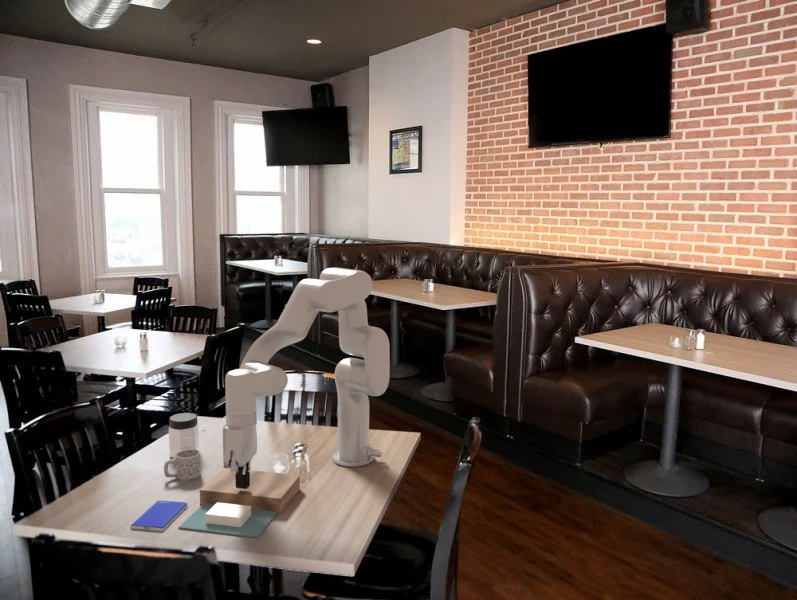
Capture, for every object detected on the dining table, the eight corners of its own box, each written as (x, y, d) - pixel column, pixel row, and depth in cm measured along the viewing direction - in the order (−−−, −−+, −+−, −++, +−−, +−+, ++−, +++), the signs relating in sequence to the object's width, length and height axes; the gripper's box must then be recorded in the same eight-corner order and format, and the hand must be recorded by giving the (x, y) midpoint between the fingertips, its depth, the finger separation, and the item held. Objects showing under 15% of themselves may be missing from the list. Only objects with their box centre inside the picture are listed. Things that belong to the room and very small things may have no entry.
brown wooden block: (299, 489, 165) (299, 475, 165) (280, 513, 152) (280, 498, 151) (225, 481, 169) (224, 467, 169) (200, 504, 156) (199, 489, 155)
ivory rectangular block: (240, 517, 144) (240, 527, 144) (251, 506, 149) (251, 515, 150) (205, 513, 145) (205, 523, 146) (217, 502, 151) (217, 511, 151)
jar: (173, 461, 182) (172, 423, 180) (166, 452, 188) (164, 415, 187) (203, 455, 187) (202, 418, 185) (195, 446, 194) (193, 410, 192)
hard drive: (157, 500, 156) (130, 524, 144) (187, 502, 155) (162, 527, 143) (157, 505, 156) (130, 530, 144) (187, 508, 155) (163, 533, 143)
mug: (196, 468, 177) (195, 447, 176) (204, 477, 172) (203, 454, 171) (161, 477, 171) (160, 454, 171) (167, 485, 166) (166, 462, 165)
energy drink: (237, 469, 178) (236, 430, 176) (220, 467, 179) (219, 428, 177) (245, 461, 183) (244, 423, 181) (228, 460, 184) (227, 422, 182)
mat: (277, 513, 152) (277, 511, 152) (257, 538, 140) (257, 536, 140) (203, 504, 156) (203, 503, 156) (178, 528, 144) (178, 526, 144)
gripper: (240, 408, 160) (241, 473, 163) (213, 427, 146) (215, 498, 148) (267, 410, 159) (268, 476, 162) (242, 429, 145) (243, 502, 147)
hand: (242, 486), depth 155 cm, fingers closed
